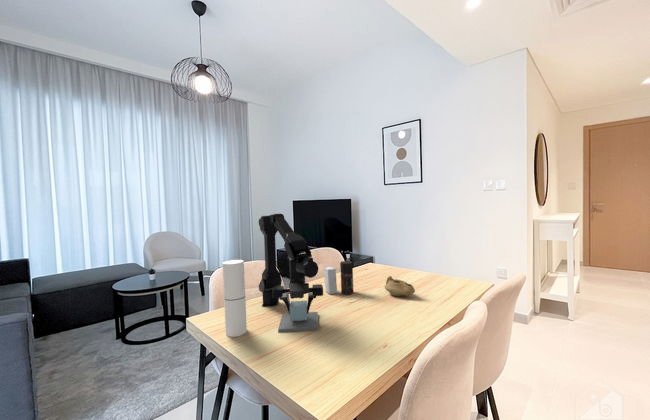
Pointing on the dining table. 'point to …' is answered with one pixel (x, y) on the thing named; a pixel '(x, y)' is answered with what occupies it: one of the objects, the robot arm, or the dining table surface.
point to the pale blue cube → (298, 310)
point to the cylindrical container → (234, 298)
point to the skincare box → (330, 280)
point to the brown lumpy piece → (398, 287)
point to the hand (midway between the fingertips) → (298, 313)
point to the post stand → (299, 323)
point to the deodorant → (346, 277)
